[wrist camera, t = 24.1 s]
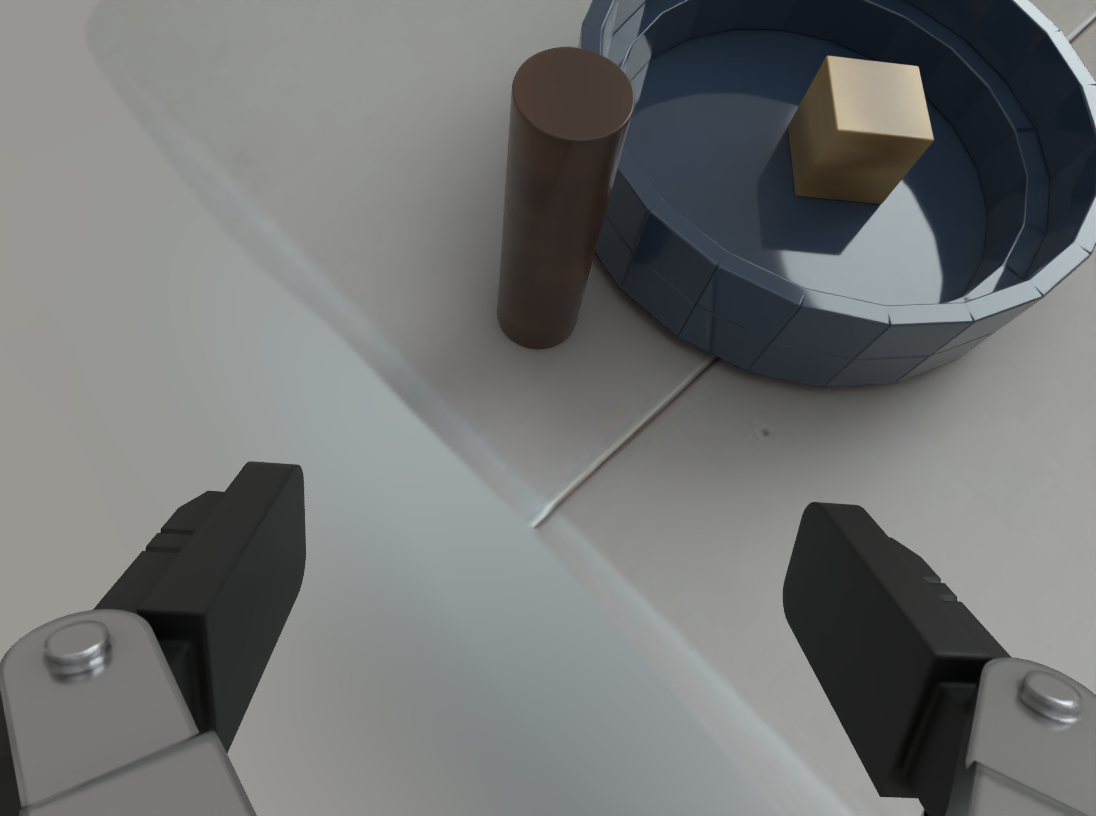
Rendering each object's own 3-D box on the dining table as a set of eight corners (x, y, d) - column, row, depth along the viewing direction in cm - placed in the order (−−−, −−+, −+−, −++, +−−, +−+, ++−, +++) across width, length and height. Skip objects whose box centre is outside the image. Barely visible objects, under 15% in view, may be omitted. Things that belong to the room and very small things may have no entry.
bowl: (553, 373, 25) (572, 297, 20) (570, -8, 32) (587, -129, 27) (1061, 414, 26) (1188, 352, 21) (967, 40, 33) (1047, -67, 28)
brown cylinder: (494, 345, 25) (507, 133, 16) (500, 276, 26) (516, 39, 17) (574, 352, 25) (635, 147, 16) (577, 283, 26) (635, 53, 17)
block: (794, 196, 28) (837, 129, 25) (787, 126, 29) (826, 54, 26) (881, 204, 28) (935, 140, 25) (870, 135, 29) (919, 65, 26)
